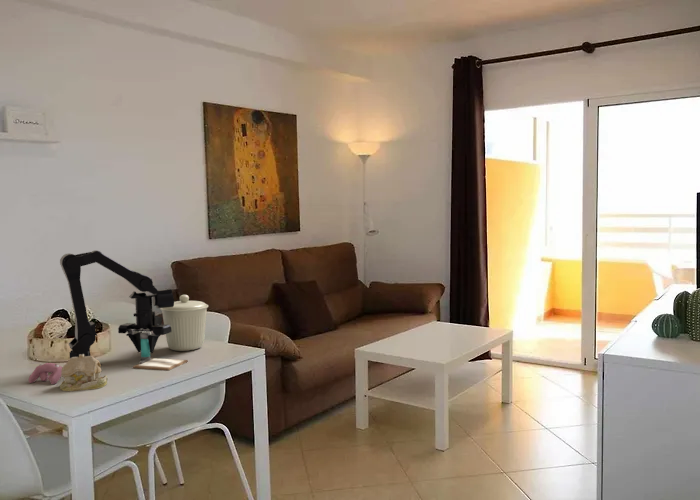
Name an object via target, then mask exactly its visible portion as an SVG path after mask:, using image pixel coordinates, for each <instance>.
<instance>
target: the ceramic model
mask: <svg viewBox="0 0 700 500" xmlns="http://www.w3.org/2000/svg"><path fill="white" fill-rule="evenodd" d="M101 366H102V365H101V363H100V360H98V359H96V358H95V357H94V356H92V355H90V356H85V357H84V354H79V357H72V358H70V357H69V359H68V361H67V362H65V364H64V365H63V366H62V367H63V368H62V371H61V377H63V378H64V380H63V381H61V383H60V384H59V389H60V390H61V391H66V392H76V391H77V392H78V391H85V390H96V389H97V390H98V389H102V388H104V387H105V386H106V385H107V384H108V380H109V379H108V376H107V375H103V376H101V373H102V368H101Z"/></svg>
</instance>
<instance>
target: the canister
mask: <svg viewBox="0 0 700 500" xmlns="http://www.w3.org/2000/svg"><path fill="white" fill-rule="evenodd" d="M189 299H190V297H189V295H187V294H182V295H180V296H179V300H177V301H174V306H173V307H168V308H159V309H160V311H161V312H162V318H163V319H162V322H163V324H165V325H170V326H171V330H172V332H170V333H167V334H165V338H166V345H167V346H168V348H169V349H170V350H171V351H177V352H187V351H193V350H194V351H195V350H197V349H200V348H202V346H203V345H204V342H205V335H206V325H207V324H206V323H207V311H208V308H209V304H207V303H205V302H204V301H199V300H189Z"/></svg>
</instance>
